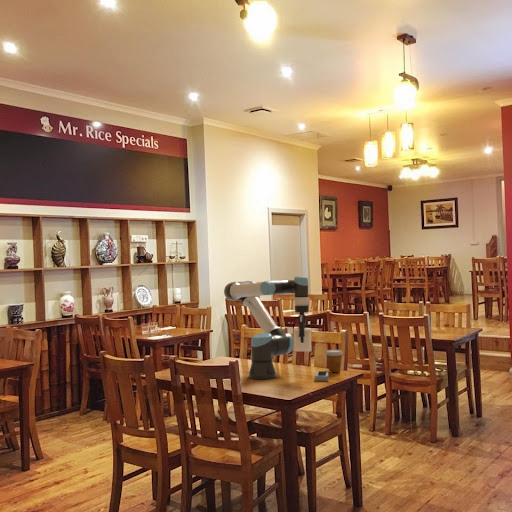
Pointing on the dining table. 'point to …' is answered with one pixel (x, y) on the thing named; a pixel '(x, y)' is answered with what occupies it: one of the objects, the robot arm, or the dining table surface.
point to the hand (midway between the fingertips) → (302, 348)
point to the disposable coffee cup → (334, 360)
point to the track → (322, 376)
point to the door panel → (307, 340)
